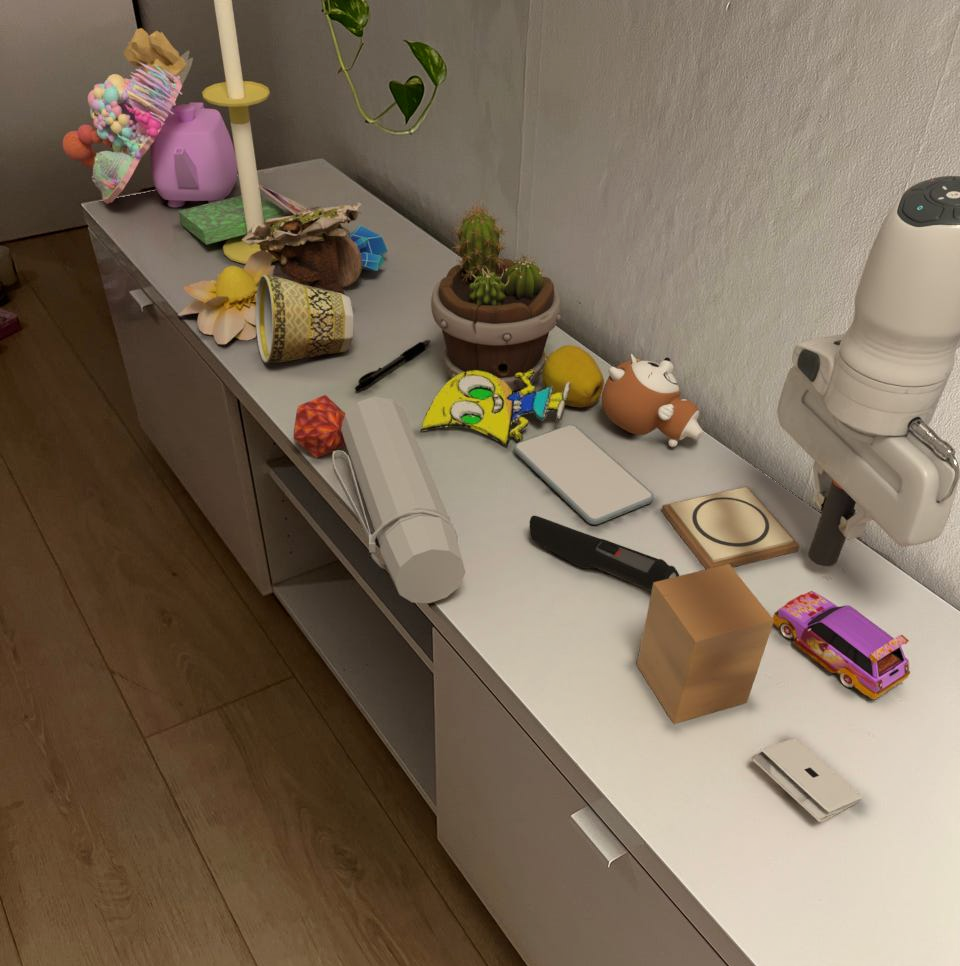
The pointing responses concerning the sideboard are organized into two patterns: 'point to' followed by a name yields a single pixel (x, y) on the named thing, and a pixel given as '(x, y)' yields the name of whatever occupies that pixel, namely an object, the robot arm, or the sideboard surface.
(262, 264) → the decorative flower
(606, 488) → the smartphone
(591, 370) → the apple
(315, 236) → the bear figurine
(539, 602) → the sideboard surface
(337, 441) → the decorative stone
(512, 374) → the flowerpot
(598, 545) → the electric trimmer
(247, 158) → the candle
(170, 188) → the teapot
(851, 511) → the marker
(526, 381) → the toy
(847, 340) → the robot arm
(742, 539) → the ringed wooden coaster
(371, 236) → the gemstone
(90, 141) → the candy platter
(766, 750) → the laptop
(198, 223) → the green jade tablet
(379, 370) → the pen
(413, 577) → the water bottle
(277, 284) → the ceramic cup
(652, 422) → the figurine
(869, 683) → the toy car
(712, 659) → the brown block
